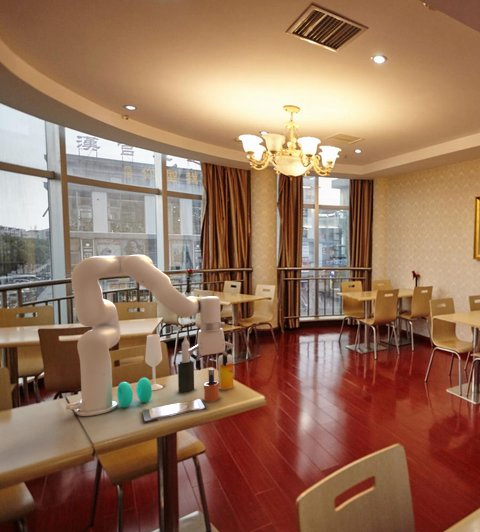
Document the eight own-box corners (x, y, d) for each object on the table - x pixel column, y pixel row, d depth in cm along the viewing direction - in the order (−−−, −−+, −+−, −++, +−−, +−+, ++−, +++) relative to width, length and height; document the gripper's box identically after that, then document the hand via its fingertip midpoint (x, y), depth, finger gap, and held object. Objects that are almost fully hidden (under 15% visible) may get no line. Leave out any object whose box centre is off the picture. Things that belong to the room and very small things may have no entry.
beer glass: (235, 388, 176) (235, 355, 176) (221, 391, 172) (221, 358, 171) (229, 385, 180) (229, 353, 180) (216, 388, 176) (215, 355, 175)
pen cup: (205, 403, 158) (205, 386, 158) (203, 399, 163) (203, 382, 163) (220, 400, 162) (219, 383, 161) (217, 396, 166) (217, 380, 166)
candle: (188, 393, 169) (187, 336, 168) (177, 393, 169) (176, 336, 168) (195, 389, 174) (194, 334, 173) (184, 389, 174) (183, 334, 173)
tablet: (144, 423, 140) (144, 420, 140) (142, 412, 150) (142, 409, 150) (205, 410, 152) (205, 407, 152) (200, 400, 161) (200, 398, 161)
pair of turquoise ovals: (116, 404, 157) (116, 380, 156) (145, 397, 164) (144, 374, 164) (123, 411, 150) (123, 385, 150) (153, 403, 158) (152, 379, 157)
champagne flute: (146, 386, 178) (145, 334, 177) (163, 384, 181) (162, 333, 180) (144, 391, 172) (143, 337, 171) (162, 388, 175) (161, 336, 174)
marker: (209, 400, 161) (209, 370, 160) (208, 398, 162) (207, 369, 162) (214, 399, 162) (214, 369, 162) (213, 397, 164) (213, 368, 163)
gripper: (230, 322, 169) (231, 361, 170) (185, 327, 159) (187, 369, 160) (235, 325, 163) (236, 365, 164) (188, 330, 153) (190, 373, 154)
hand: (212, 367), depth 162 cm, fingers open, 9 cm apart
